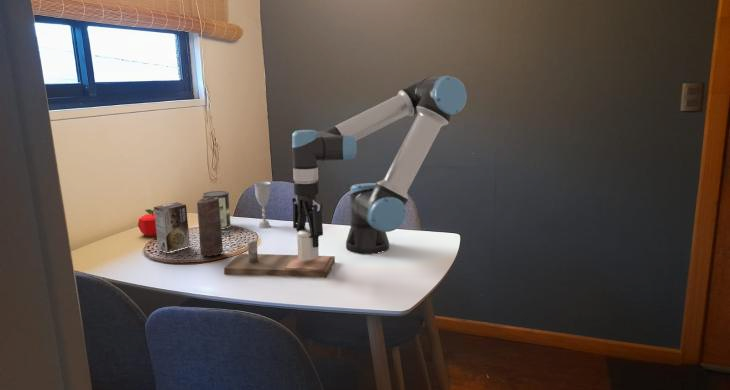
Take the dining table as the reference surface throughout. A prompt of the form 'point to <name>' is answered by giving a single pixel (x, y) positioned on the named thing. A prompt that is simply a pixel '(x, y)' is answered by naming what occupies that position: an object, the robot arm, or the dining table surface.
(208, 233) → the brown tall block
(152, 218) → the apple
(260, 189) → the chalice
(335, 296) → the dining table surface
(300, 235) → the white cylinder
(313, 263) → the post board
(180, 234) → the coffee box
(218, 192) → the coffee can
